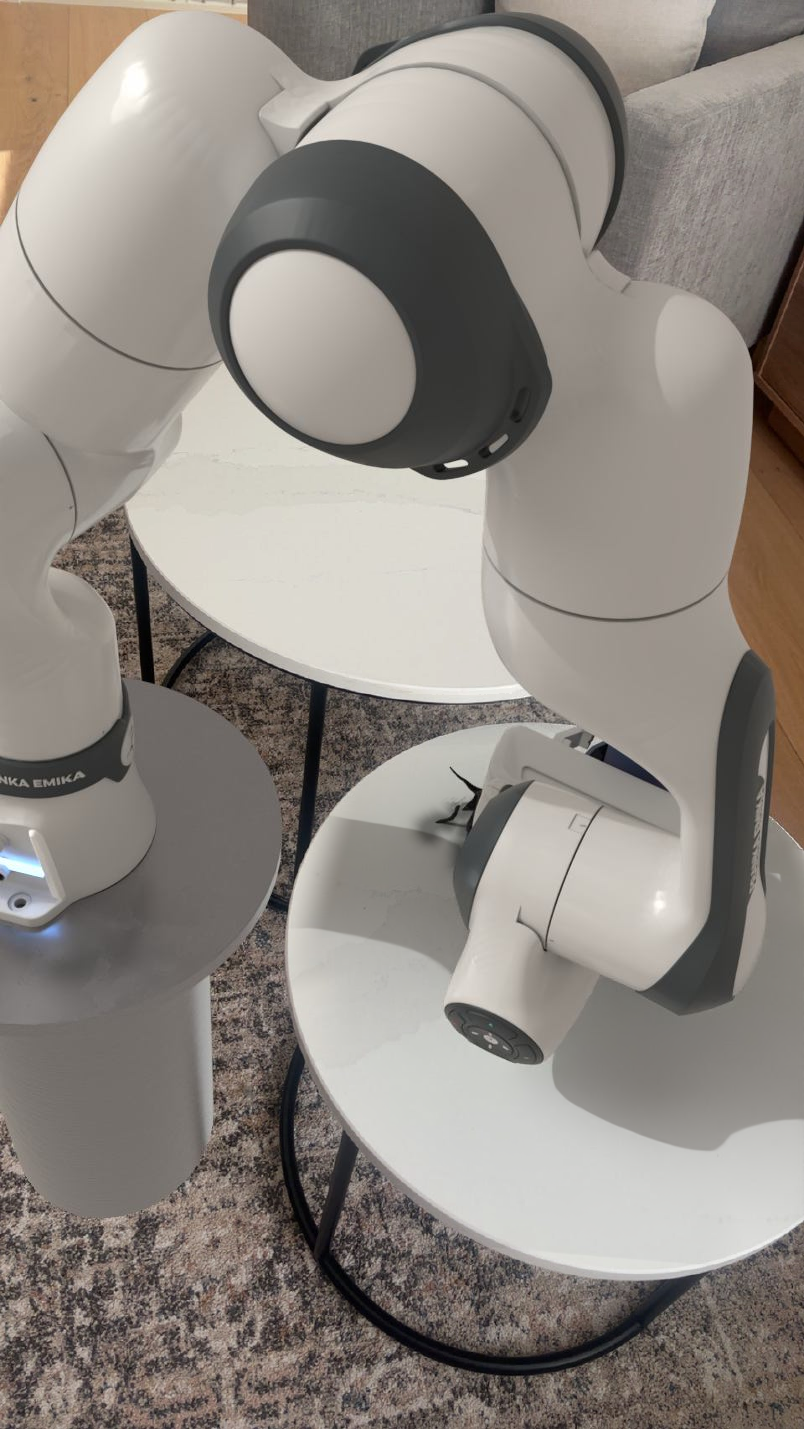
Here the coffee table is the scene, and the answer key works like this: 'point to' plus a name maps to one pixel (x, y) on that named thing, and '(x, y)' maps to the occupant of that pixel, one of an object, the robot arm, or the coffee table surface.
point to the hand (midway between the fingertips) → (643, 749)
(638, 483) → the robot arm
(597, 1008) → the coffee table surface
